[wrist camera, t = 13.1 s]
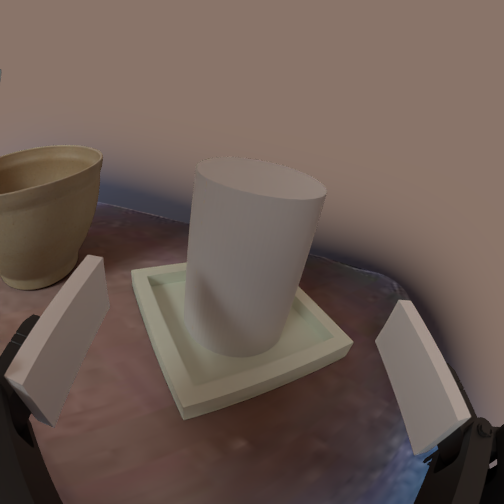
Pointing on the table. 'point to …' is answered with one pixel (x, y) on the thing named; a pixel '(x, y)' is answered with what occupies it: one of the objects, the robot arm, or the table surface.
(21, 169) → the planter bowl
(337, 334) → the tray
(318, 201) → the white cylinder
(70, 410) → the table surface
